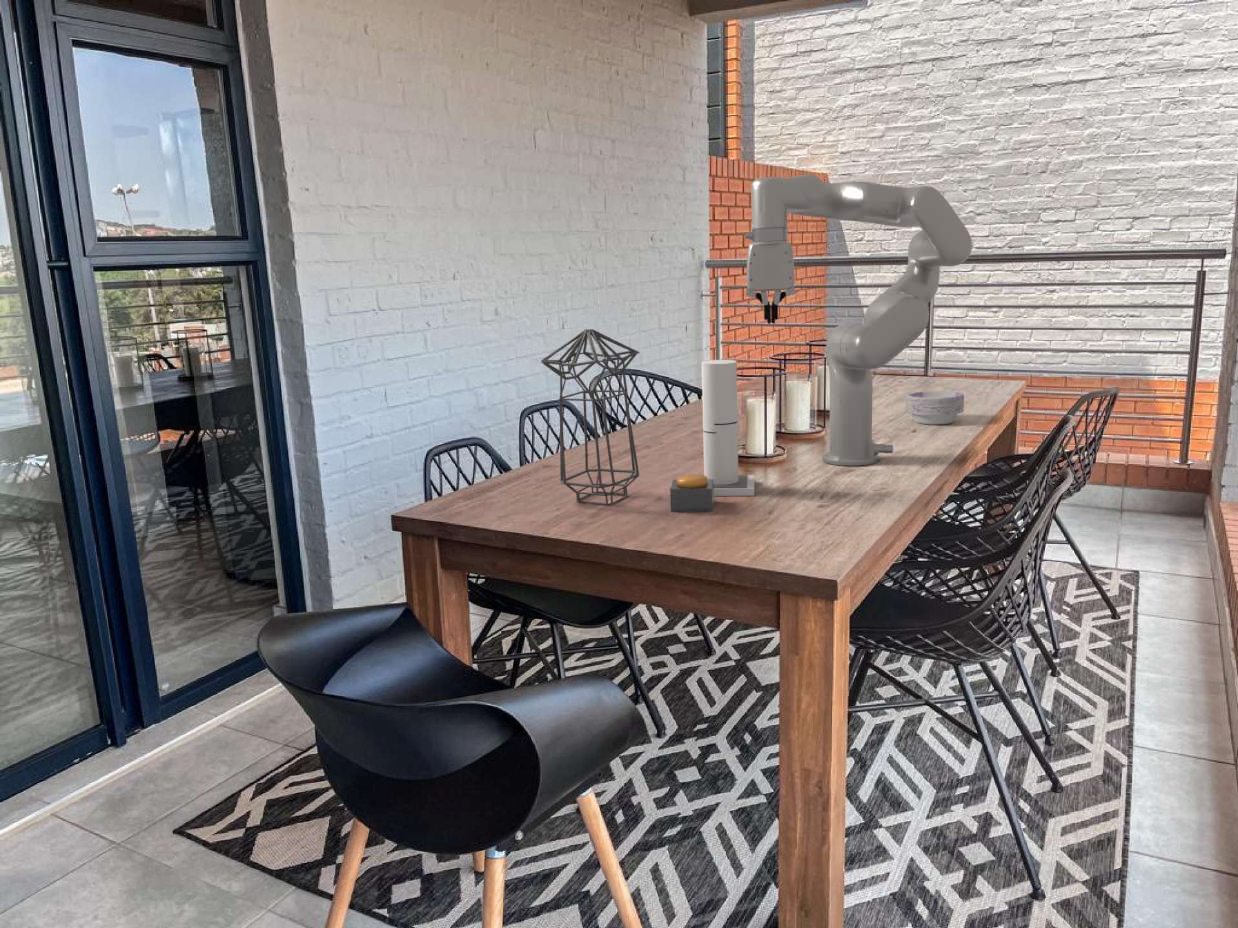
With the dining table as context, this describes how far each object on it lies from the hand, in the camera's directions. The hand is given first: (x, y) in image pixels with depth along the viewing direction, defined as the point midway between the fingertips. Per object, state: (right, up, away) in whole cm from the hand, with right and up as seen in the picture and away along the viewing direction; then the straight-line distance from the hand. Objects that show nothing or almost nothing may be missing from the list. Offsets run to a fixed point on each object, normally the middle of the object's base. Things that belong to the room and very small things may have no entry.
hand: (771, 323), depth 211 cm
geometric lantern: (-38, -38, -13) cm, 55 cm away
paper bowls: (+54, -20, +55) cm, 79 cm away
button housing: (-19, -39, -21) cm, 48 cm away
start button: (-19, -39, -21) cm, 48 cm away
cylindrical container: (-12, -35, -9) cm, 38 cm away
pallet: (-12, -36, -9) cm, 39 cm away
